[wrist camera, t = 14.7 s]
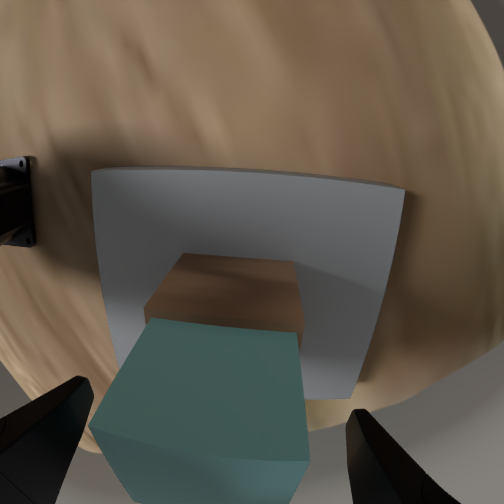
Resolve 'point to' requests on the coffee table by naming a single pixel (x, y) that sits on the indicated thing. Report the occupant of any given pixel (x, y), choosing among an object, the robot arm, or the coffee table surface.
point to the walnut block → (230, 294)
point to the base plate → (253, 249)
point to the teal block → (206, 416)
